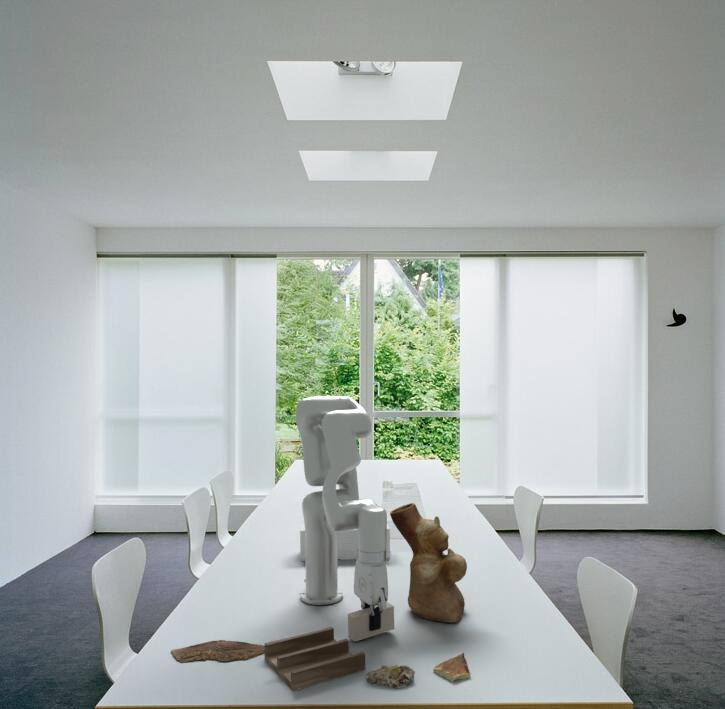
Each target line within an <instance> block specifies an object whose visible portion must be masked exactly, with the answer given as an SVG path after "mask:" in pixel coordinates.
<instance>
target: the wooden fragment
mask: <svg viewBox="0 0 725 709" xmlns="http://www.w3.org/2000/svg"><path fill="white" fill-rule="evenodd" d="M170 653H171V656H172V658H173V659H175V660H176V662H179V663H180V664H184V663H188V662H195V661H200V662H201V661H210V660H211V661H214V660H215V661H217V662H229V661H235V660H243V661H247V660H251V659H253V658H256V657H258V656H261V655H263V654H265V644H255V643H250V642H249V643H248V642H243V641H234V640H233V641H232V640H224V639H223V640H222V639H219V640H211V641H206V642H203V643H197V644H193V645H190V646H186V647H181V648H174V649H171V651H170Z"/></svg>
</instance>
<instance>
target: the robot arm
mask: <svg viewBox="0 0 725 709" xmlns="http://www.w3.org/2000/svg"><path fill="white" fill-rule="evenodd" d="M294 414H295V416H294V417H295V418H294V419H295V422H296V427H297V430H298V433H299V436H300V439H301V446H302V458H303V460H302V461H303V473H304V478H305V481H306V484H307V485H309V486H311V487H322V490H317V491H313V492H310V493H308V494H307V495H306V496H304V498H303V500H302V503H301V510H302V516H303V523H305V545H306V560H305V579H304V583H305V589H303V590H302V591H301V592H300V595H299V596H300V600H301V601H302V602H304V603H306V604H309V605H315V606H324V605H326V606H328V605H332V604H335V603H338V602H339V601H341V600H342V599H343V597H344V596H343V590H342V589H340V588H338V560H337V536H336V534H335V532H334V531H346V530H353V529H357V559H355V566H354V574H353V575H354V579H353V594H354V595H355V596H356V597H357V598H359V600H360V608H361V610H362V609H366V608H369V607H370V608H371V615H369V630H370V631H374V630H378V629H380V628H381V614H382V611H384V610H387V605H386V602H388V599H389V598H388V597H389V583H388V582H389V579H388V570H387V559H388V558H387V523H388V512H387V510H386V509H385V508H384V506H379V505H378V504H377V503H376V502H375V501H374V500H373V499H371V498H362V499H361V498H360V494H359V484H358V483H359V482H358V474H357V473H358V471H357V467H358V466H359V465H360V463H361V460H362V459H361V455H360V451H359V448H358V446H359V445H358V443H357V440H356V439H365V438H368V437H369V436H370V434H371V432H372V428H373V427H372V421H371V420H372V419H371V417H370V415H369V413H368V412H367V411H366V409H365V408H364V407H363V406H361V404H360V403H358V402H357V400H354V398H352V397H350V396H349V395H348V396H347V395H323V396H321V395H320V396H309V397H305V398H302V399H301V400H299V401H298V402H297V404H296V406H295V413H294ZM337 485H338V488H337ZM332 529H333V530H334V531H333V530H332ZM376 605H378V607H376V608H375V606H376Z"/></svg>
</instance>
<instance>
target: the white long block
mask: <svg viewBox="0 0 725 709" xmlns="http://www.w3.org/2000/svg"><path fill="white" fill-rule="evenodd" d="M332 530H333V529H332ZM333 531H334V530H333ZM390 531H391V529H390V526H389V524H388V522H387V558H386V559H391V532H390ZM334 532H335V534H336V536H337V559H341V560H357V529H353V530H346V531H334ZM299 534H300V537H299V538H300V539H299V541H300V542H299V543H300V545H299V548H300V549H299V550H300V552H299V553H300V554H299V557H300V559H299V560H300V562H301V561H306V545H305V523H304V522H300V530H299Z"/></svg>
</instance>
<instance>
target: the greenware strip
mask: <svg viewBox="0 0 725 709" xmlns="http://www.w3.org/2000/svg"><path fill="white" fill-rule="evenodd" d="M386 605H387V610H384V611H382V614H381V628H380V629H378V630H374V631H370V630H369V615H371V608H370V607H369V608H366V609H362V608H361V609H360V610H355V611H352V612H349V613H347V630H348V631H347V632H348V634H347V635H348V636H347V637H348V638H349V640H351V641H353V642H355V643H356V642H359V641H361V640H364V639H368V638H370V637H373V636H377V635H380V634H383V633H386V632H390V631H393V630H395V609H394V608H395V606H394V605H393V604H391V603H389V602H388V601H387V602H386ZM376 607H378V605H376V606H375V608H376Z"/></svg>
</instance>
